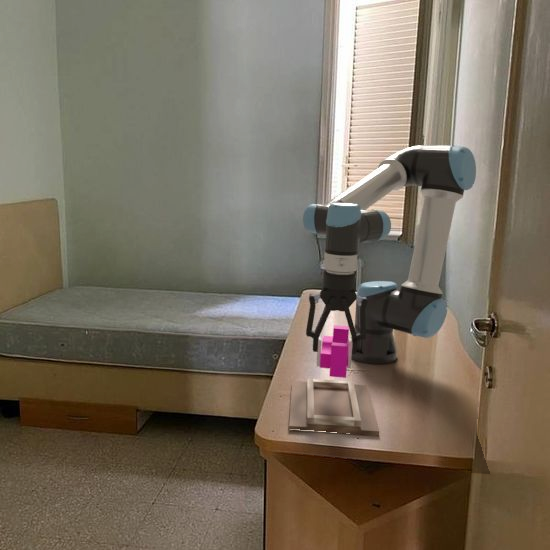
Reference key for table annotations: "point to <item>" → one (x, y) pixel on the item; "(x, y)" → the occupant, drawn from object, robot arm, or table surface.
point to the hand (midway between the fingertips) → (333, 365)
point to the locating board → (332, 407)
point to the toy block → (335, 351)
